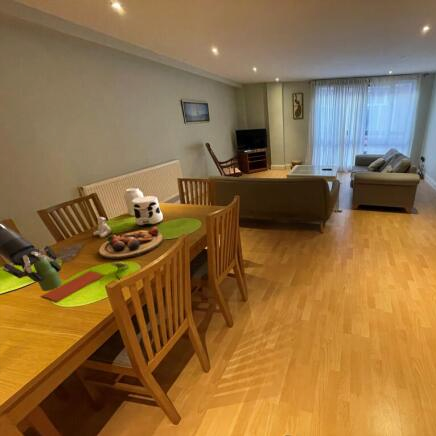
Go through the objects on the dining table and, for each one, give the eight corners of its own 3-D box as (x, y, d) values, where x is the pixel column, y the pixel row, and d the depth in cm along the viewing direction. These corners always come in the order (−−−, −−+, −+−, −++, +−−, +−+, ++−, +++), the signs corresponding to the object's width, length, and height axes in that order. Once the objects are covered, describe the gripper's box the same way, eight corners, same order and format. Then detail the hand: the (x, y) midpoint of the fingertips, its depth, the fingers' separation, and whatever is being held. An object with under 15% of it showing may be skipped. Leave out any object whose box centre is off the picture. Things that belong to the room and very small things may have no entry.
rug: (49, 264, 124) (48, 262, 123) (63, 247, 140) (62, 246, 140) (73, 259, 128) (72, 258, 127) (84, 244, 144) (83, 242, 144)
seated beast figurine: (92, 235, 155) (86, 218, 150) (106, 230, 162) (101, 213, 157) (102, 238, 151) (95, 220, 147) (115, 232, 158) (110, 215, 154)
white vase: (151, 211, 195) (145, 187, 188) (138, 216, 184) (131, 191, 176) (138, 209, 198) (132, 186, 191) (125, 215, 187) (118, 190, 180)
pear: (47, 292, 87) (32, 262, 82) (38, 289, 89) (23, 259, 84) (65, 283, 92) (52, 254, 87) (56, 280, 94) (42, 251, 89)
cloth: (57, 301, 98) (56, 301, 98) (42, 296, 101) (41, 295, 101) (104, 275, 115) (103, 275, 115) (90, 271, 118) (89, 271, 118)
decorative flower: (124, 267, 108) (111, 256, 117) (115, 280, 107) (103, 268, 115) (140, 272, 114) (127, 261, 123) (132, 284, 113) (119, 273, 121)
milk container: (156, 216, 184) (150, 194, 178) (168, 221, 175) (163, 198, 168) (132, 224, 171) (125, 200, 164) (143, 230, 162) (137, 204, 155)
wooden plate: (159, 229, 163) (157, 218, 159) (166, 249, 138) (163, 236, 135) (101, 242, 146) (97, 229, 143) (97, 266, 122) (92, 252, 119)
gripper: (-15, 248, 77) (30, 282, 80) (36, 229, 90) (73, 259, 93) (-20, 260, 80) (25, 293, 83) (30, 240, 93) (67, 269, 96)
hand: (50, 275), depth 88 cm, fingers closed on pear, 5 cm apart
